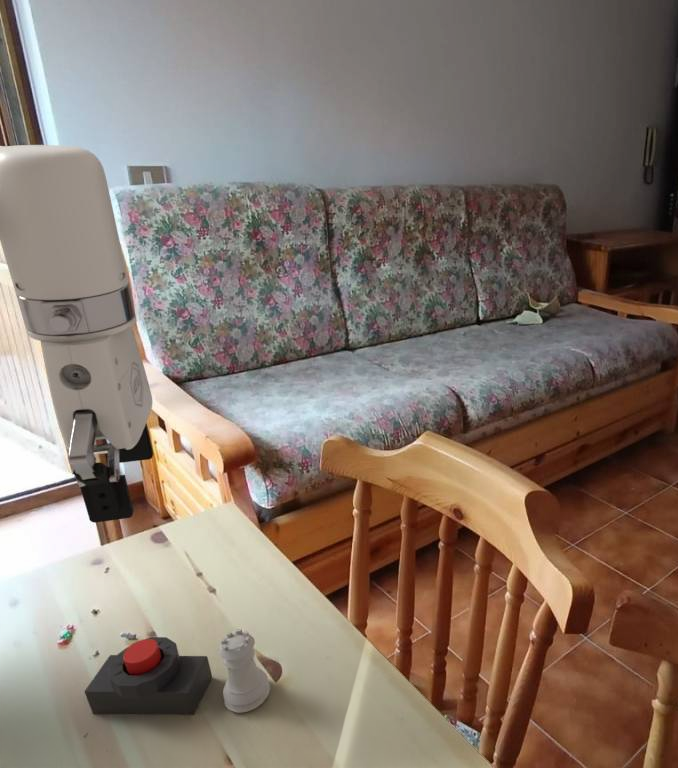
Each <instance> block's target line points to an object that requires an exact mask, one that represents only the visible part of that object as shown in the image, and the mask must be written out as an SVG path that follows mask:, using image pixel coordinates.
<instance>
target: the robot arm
mask: <svg viewBox="0 0 678 768" xmlns="http://www.w3.org/2000/svg"><path fill="white" fill-rule="evenodd" d="M112 203H113V202H112V199H111V194H110V189H109V185H108V180H107V176H106V172H105V169H104V166H103V164H102V162H101V160H99V158H98V156H96V154H95V153H93V152H91V151H90V150H88V149H85V148H82V147H78V146H72V145H61V144H60V145H59V144H57V145H56V144H20V145H7V146H4V145H0V245H1V248H2V252H3V255H4V258H5V262H6V265H7V268H8V272H9V275H10V278H11V279H10V280H11V282H12V285H13V289H14V293H15V295H16V299H17V302H18V306H19V309H20V314H21V316H22V319H23V323H24V326H25V329H26V333H27V336H28V337H29V338H31V339H33V340H35V341H40V345H41V352H42V359H43V364H44V369H45V374H46V380H47V384H48V388H49V393H50V397H51V401H52V406H53V410H54V414H55V418H56V420H57V424H58V425H57V426H58V429H59V432H60V434H61V438H62V440H63V443H64V445H65V448H66V450H67V451H68V455H67V459H68V463H69V465H70V467H71V468H72V470H73V471H72V475H73V476H74V478H75V479H76V483H77V486H78V487H79V488H80V492H81V495H82V498H83V502H84V505H85V509H86V512H87V515H88V520H89V521H90V522H91V523H94V524H95V523H102V522H110V521H117V520H125V519H130V518H132V517H133V516H134V515H133V514H134V512H135V510H134V505H133V501H132V498H131V494H130V489H129V485H128V482H127V477H126V475H125V474H122V475H121V471H120V470H121V469H120V466H121V465H120V464H121V463H122V464H123V463H130V462H139V461H147V460H148V461H149V460H151V459H152V458H153V456H154V450H153V445H152V441H151V437H150V436H151V435H150V431H149V428H148V423H147V422H148V420H149V417H150V415H151V411H152V409H153V395H152V391H151V387H150V384H149V379H148V376H147V373H146V369H145V366H144V361H143V358H142V353H141V351H140V346H139V344H138V340H137V337H136V334H135V332H134V328H133V327H134V326H135V325H136V323H137V321H138V319H137V315H136V310H135V305H134V301H133V296H132V292H131V287H130V282H129V278H128V273H127V269H126V264H125V260H124V255H123V251H122V250H123V249H122V245H121V242H120V241H121V240H120V237H119V236H120V235H119V232H118V227H117V223H116V218H115V212H114V209H113V204H112ZM97 440H106V441H108V443H100V444H95V441H97ZM104 454H107V465H106V464H104V463H103V462H101V461H100V462H97V458H96V455H104Z"/></svg>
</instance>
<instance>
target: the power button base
mask: <svg viewBox="0 0 678 768" xmlns="http://www.w3.org/2000/svg"><path fill="white" fill-rule="evenodd" d="M146 639H152V640H155V641H156V642H157V644H158V647H159V650H160V654H161V661H160V663H159V665H158V666H157V667H155V668H154V669H153V670H151V671H150V672H147V673H144V674H142V675H131V674H129V673H128V671H127V668H126V665H125V662H124V659H123V655H124V652H125V651H126V649H127V648H128V647H129V646H127V647H126V648H124V649H123V650H121V651H120V652H118V653H117V654H110V655H109V656H108V658H106V660H105V661H104V663H103V665H102V666H101V668H100V669H99V670H98V671H97V673H96V674H95V676H94V677H93V678H92V680H91V681H90V683H89V684H88V686H87V687H86V689H85V690H84V696H85V698H86V700H87V703H88V705H89V708H90V710H91V713H92V715H155V716H156V715H157V716H158V715H165V716H166V715H167V716H169V715H170V716H172V715H173V716H181V715H182V716H194V715H195V714H196V712H197V710H198V708H199V705H200V704H201V702H202V699H203V698H204V696H205V694H206V691H207V690H208V687H209V686H210V685H211V682H212V680H213V673H212V670H211V667H210V666H211V665H210V662H209V657H208V656H207V655H180V652H179V649H178V645H177V643H176V642H175V641H173V640H171V639H170V638H168V637H166V636H151V637H147V638H146ZM132 644H133V643H131V644H130V645H132Z"/></svg>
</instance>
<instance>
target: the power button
mask: <svg viewBox="0 0 678 768" xmlns="http://www.w3.org/2000/svg"><path fill="white" fill-rule="evenodd" d="M131 644H132V645H131ZM131 644H129V645H128V646H127V647H128V648H127V647H126V648H127V649H126V648H125V649H126V651H125V652H124V655H123V659H124V662H125V665H126V668H127V671H128V673H129V674H131V675H142V674H144V673H147V672H150V671H151V670H153V669H154V668H155V667H157V666H158V665H159V663H160V661H161V654H160V650H159V647H158V644H157V642H156V641H155V640H152V639H147V638H143V639H140V640H137V641H135V642H133V643H131Z"/></svg>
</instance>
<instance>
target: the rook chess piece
mask: <svg viewBox="0 0 678 768" xmlns="http://www.w3.org/2000/svg"><path fill="white" fill-rule="evenodd" d="M225 634H226V637H222V639H221V642H220V643H221V644H220V645H219V648H218V654H219V656H220V657H221V658H222V659H223V663H224V664H223V665H224V666H225V667H226V668H227V678H226V681H225V683H224V687H223V689H222V694H223V703H224V706H225V707H226V709H228V710H229V711H231V712H234V713H248V712H251V711H253V710H255V709H257V708H259V706H261V705H263V703H264V702H265V700H266V699H267V698H268V696H269V695H270V691H271V684H270V683H271V682H270V681H269V677H268V675H267V673H266V672H265V671H264V670H263V669H261V667H259V666H258V665H257V663H256V661H255V659H254V658H255V655H256V654H255V649H254V646H255V644H256V642H255V638H254V636H253V635H251V634H250V632H248V631H247V630H244V631H243V629H242V628H236V630H235V633H233V632H232V630H231V631H228V632H227V633H225Z"/></svg>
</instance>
